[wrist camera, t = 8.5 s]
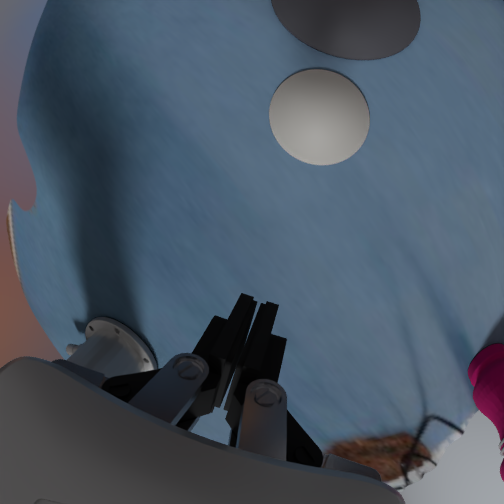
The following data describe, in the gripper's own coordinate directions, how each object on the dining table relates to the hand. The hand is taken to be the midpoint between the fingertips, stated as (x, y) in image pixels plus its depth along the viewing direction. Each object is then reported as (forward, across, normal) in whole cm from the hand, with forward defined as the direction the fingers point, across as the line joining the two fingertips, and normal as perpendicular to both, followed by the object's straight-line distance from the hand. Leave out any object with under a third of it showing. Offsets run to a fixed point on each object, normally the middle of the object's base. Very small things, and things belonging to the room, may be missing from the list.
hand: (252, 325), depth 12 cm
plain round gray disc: (+13, 0, -10) cm, 17 cm away
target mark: (+13, 0, -22) cm, 26 cm away
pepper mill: (+14, -30, +8) cm, 34 cm away
